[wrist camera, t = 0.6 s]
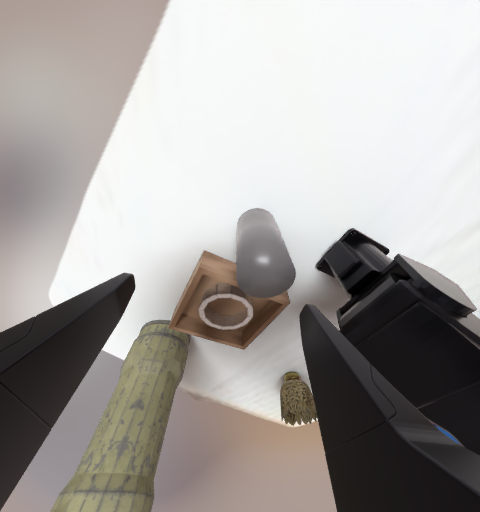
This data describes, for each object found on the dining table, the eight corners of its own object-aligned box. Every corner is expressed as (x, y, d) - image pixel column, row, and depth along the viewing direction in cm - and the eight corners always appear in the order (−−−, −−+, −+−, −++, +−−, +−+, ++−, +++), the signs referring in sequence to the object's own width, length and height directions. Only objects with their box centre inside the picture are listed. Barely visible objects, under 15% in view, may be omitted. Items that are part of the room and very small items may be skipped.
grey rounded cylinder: (283, 219, 21) (307, 267, 14) (262, 249, 23) (273, 304, 16) (248, 201, 20) (255, 243, 12) (230, 234, 22) (226, 286, 15)
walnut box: (284, 284, 27) (290, 302, 24) (243, 330, 33) (244, 349, 30) (204, 250, 23) (199, 267, 20) (175, 308, 29) (168, 328, 26)
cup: (312, 377, 43) (325, 421, 36) (283, 384, 45) (290, 427, 38) (301, 363, 39) (313, 410, 33) (269, 372, 42) (275, 417, 35)
